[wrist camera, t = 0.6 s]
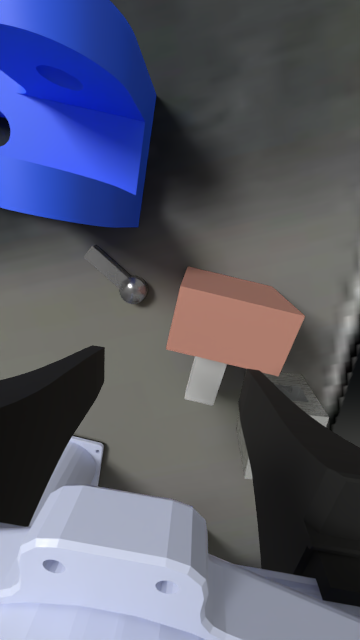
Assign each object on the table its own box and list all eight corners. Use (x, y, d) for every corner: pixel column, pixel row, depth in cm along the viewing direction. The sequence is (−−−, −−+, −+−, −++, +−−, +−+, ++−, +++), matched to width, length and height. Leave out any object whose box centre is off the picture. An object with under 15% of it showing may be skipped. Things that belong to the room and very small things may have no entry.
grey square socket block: (285, 432, 25) (306, 485, 20) (236, 427, 26) (244, 478, 20) (300, 374, 23) (329, 417, 18) (245, 369, 23) (257, 410, 18)
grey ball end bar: (152, 288, 21) (151, 290, 20) (136, 306, 22) (134, 309, 21) (99, 240, 20) (95, 240, 19) (84, 260, 21) (80, 261, 20)
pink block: (234, 386, 24) (247, 447, 17) (163, 369, 24) (148, 423, 17) (272, 286, 20) (305, 316, 14) (187, 266, 20) (180, 285, 14)
